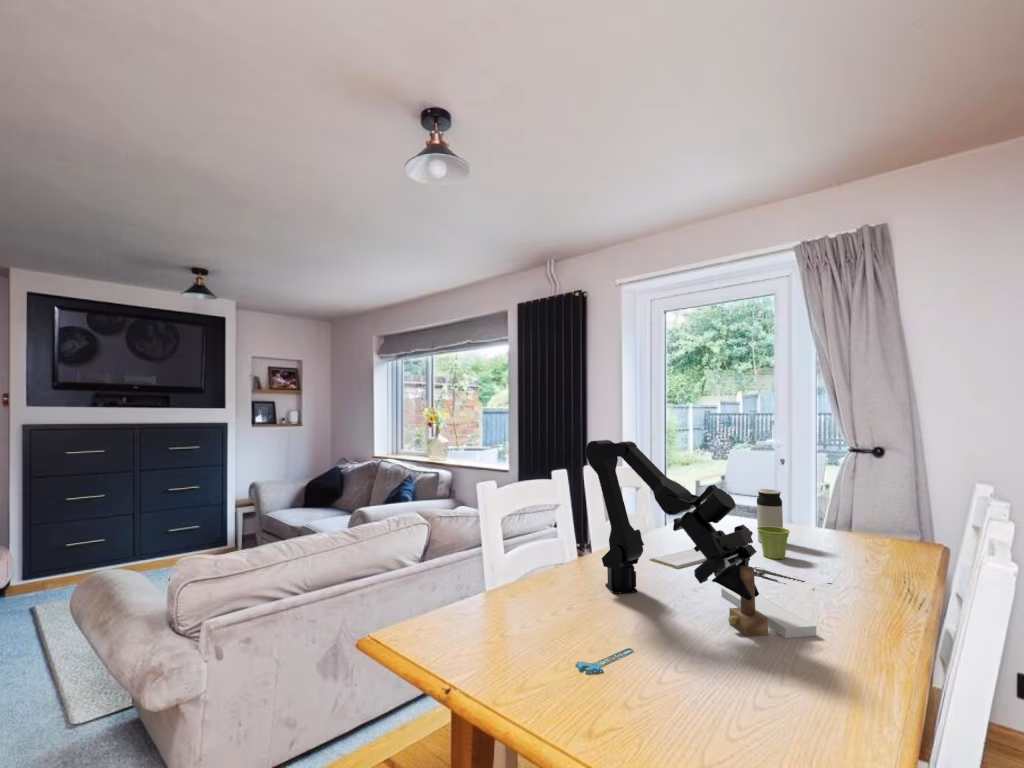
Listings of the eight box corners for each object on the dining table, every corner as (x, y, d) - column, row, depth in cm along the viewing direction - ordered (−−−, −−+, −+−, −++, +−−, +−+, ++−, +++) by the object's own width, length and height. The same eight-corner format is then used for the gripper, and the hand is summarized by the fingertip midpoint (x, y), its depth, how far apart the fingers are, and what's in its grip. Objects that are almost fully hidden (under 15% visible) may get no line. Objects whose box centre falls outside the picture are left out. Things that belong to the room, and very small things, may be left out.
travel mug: (762, 545, 177) (760, 492, 178) (755, 539, 185) (753, 488, 186) (786, 545, 176) (785, 492, 177) (778, 540, 184) (777, 489, 185)
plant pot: (760, 551, 170) (759, 524, 170) (793, 555, 164) (792, 528, 165) (754, 558, 162) (754, 530, 163) (788, 563, 157) (787, 534, 157)
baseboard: (645, 560, 162) (676, 571, 152) (645, 551, 162) (676, 561, 152) (707, 545, 179) (739, 554, 169) (707, 537, 179) (739, 545, 169)
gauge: (739, 637, 106) (737, 573, 107) (723, 625, 112) (721, 564, 113) (768, 634, 107) (766, 571, 108) (750, 623, 113) (749, 563, 114)
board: (785, 638, 106) (785, 628, 106) (721, 596, 129) (721, 588, 130) (816, 635, 107) (816, 625, 107) (747, 594, 130) (747, 586, 131)
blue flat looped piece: (591, 673, 91) (571, 662, 95) (591, 679, 91) (571, 668, 95) (641, 650, 99) (621, 641, 103) (642, 656, 99) (621, 646, 103)
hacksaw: (734, 572, 150) (734, 567, 150) (753, 565, 156) (753, 560, 156) (823, 596, 130) (823, 590, 130) (841, 587, 136) (841, 581, 136)
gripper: (706, 520, 108) (762, 587, 99) (746, 508, 120) (799, 567, 111) (673, 550, 113) (723, 617, 105) (715, 536, 126) (762, 594, 117)
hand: (754, 597), depth 109 cm, fingers closed on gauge, 3 cm apart
